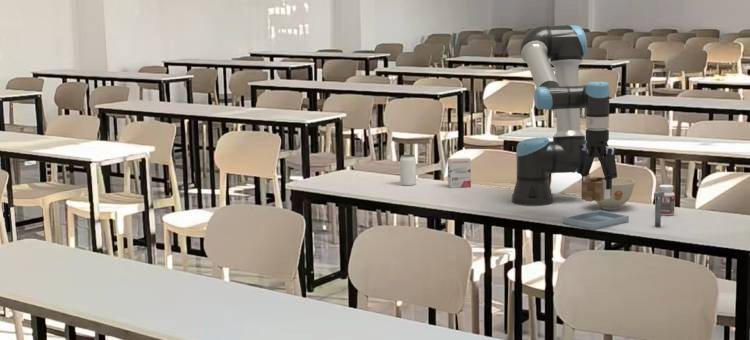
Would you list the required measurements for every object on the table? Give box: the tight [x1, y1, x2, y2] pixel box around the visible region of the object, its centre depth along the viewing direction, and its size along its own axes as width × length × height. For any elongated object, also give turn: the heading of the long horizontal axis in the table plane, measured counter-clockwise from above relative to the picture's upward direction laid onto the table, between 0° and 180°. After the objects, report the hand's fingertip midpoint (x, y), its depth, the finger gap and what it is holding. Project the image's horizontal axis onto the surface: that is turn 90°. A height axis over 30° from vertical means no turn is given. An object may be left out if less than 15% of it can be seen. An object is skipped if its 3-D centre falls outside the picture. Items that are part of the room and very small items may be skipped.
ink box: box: [447, 156, 472, 189], centre depth 407 cm, size 8×5×12 cm, turn 99°
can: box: [399, 154, 417, 187], centre depth 414 cm, size 6×6×12 cm
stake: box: [653, 191, 664, 228], centre depth 331 cm, size 2×4×11 cm, turn 126°
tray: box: [562, 209, 630, 231], centre depth 339 cm, size 13×18×2 cm
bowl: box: [595, 176, 636, 211], centre depth 360 cm, size 16×16×10 cm
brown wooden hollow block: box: [581, 176, 612, 202], centre depth 336 cm, size 12×6×6 cm, turn 146°
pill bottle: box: [658, 184, 676, 217], centre depth 348 cm, size 6×6×10 cm
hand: (596, 196), depth 337 cm, fingers closed on brown wooden hollow block, 8 cm apart
